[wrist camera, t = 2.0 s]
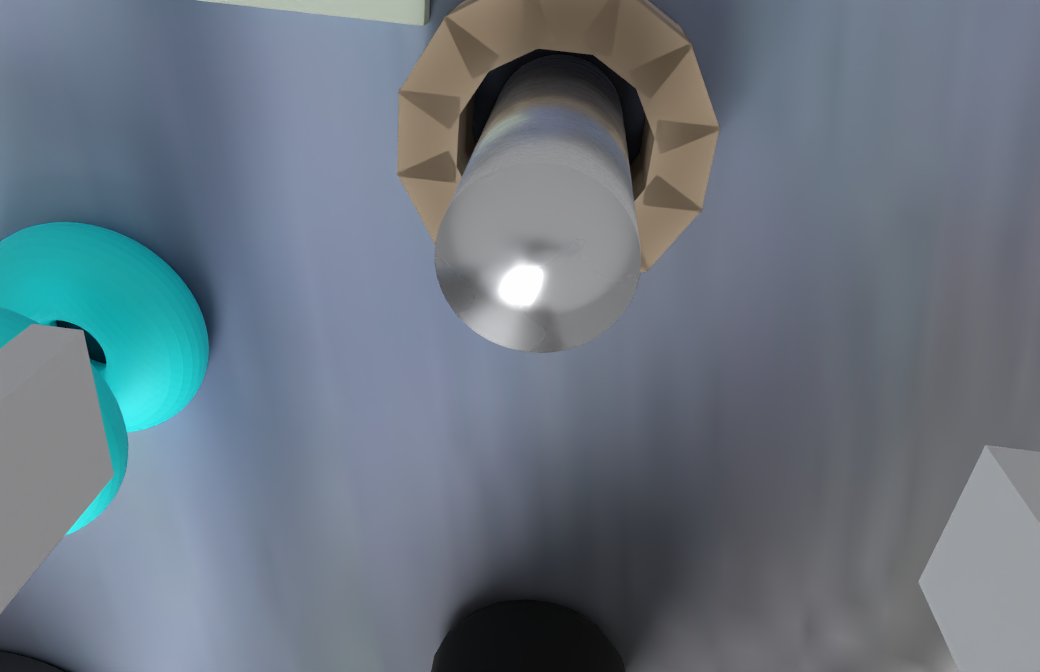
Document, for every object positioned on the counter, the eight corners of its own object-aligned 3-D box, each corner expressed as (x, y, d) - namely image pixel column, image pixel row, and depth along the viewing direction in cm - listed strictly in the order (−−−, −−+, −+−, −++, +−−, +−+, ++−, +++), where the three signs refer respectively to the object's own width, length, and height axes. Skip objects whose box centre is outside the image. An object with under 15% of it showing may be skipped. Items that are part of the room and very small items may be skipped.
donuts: (-23, 594, 30) (-256, 405, 27) (114, 437, 39) (-47, 278, 35) (160, 502, 27) (-76, 272, 23) (264, 353, 36) (105, 168, 32)
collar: (416, 234, 32) (394, 275, 29) (425, -49, 27) (400, -39, 24) (670, 264, 32) (680, 310, 29) (728, -15, 27) (748, 0, 23)
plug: (490, 175, 31) (430, 340, 20) (500, 47, 29) (438, 150, 17) (612, 189, 31) (623, 363, 20) (632, 62, 28) (658, 176, 17)
